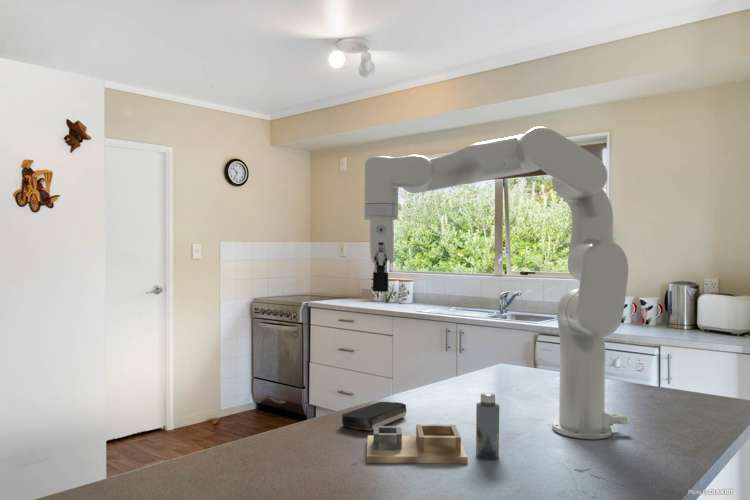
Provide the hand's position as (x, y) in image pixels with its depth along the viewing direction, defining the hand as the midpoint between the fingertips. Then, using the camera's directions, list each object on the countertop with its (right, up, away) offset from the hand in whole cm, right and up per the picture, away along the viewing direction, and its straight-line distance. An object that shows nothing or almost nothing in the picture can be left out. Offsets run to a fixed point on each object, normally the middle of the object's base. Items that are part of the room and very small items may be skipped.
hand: (380, 289), depth 128 cm
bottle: (+21, -31, -16) cm, 41 cm away
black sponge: (-1, -32, +5) cm, 32 cm away
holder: (+7, -31, -14) cm, 35 cm away
